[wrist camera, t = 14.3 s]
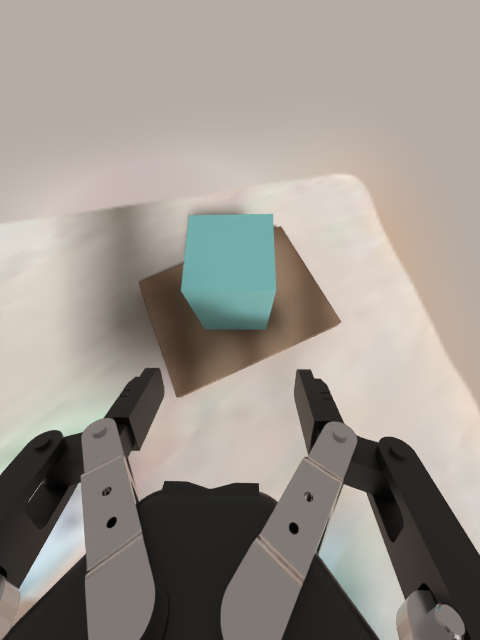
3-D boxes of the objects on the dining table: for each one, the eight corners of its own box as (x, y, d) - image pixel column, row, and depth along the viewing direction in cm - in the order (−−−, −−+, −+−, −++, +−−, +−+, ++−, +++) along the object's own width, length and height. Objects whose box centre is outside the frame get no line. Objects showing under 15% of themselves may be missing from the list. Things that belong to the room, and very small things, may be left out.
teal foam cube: (205, 329, 21) (180, 290, 13) (208, 276, 23) (188, 215, 15) (265, 329, 21) (276, 290, 13) (264, 275, 23) (272, 213, 15)
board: (180, 397, 20) (176, 397, 19) (143, 287, 24) (138, 281, 23) (336, 325, 22) (341, 322, 21) (279, 233, 26) (280, 226, 24)
